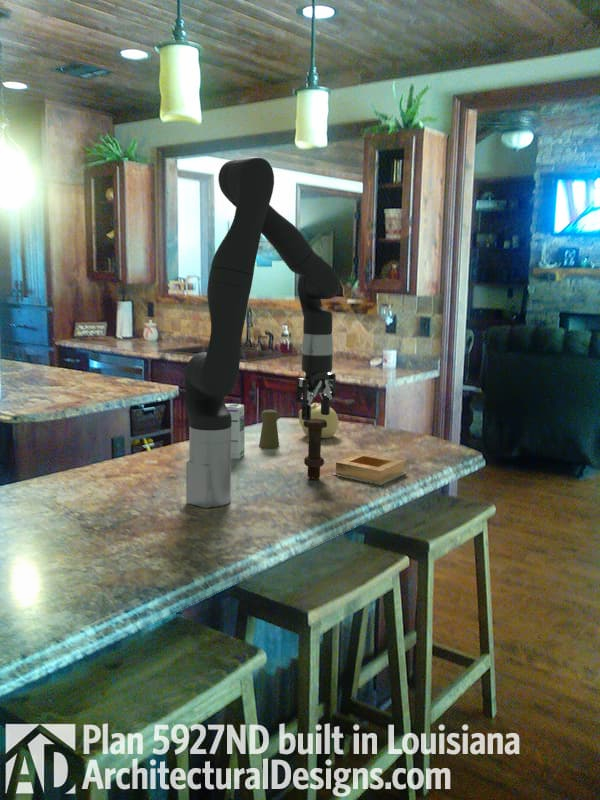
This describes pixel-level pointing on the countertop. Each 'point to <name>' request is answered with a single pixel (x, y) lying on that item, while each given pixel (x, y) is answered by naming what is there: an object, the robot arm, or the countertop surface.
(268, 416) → the cork
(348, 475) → the receiver
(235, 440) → the syrup box
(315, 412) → the sculpture
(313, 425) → the bolt
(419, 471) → the countertop surface
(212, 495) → the robot arm
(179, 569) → the countertop surface
